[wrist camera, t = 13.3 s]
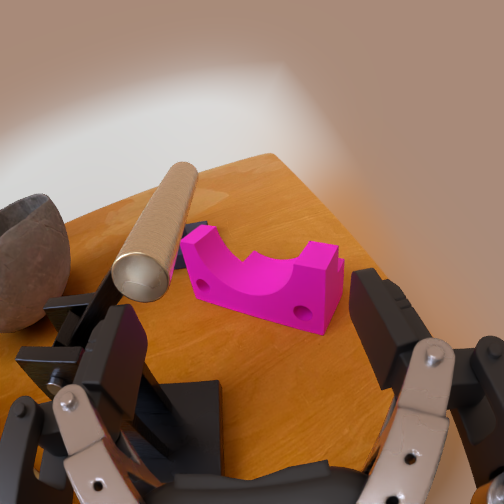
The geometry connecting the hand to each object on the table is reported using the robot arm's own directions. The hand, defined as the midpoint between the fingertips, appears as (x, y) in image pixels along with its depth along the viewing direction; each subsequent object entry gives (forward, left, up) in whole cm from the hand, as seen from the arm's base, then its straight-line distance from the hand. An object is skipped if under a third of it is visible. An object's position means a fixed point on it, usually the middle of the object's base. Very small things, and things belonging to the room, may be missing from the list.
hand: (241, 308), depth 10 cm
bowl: (+33, -20, -14) cm, 41 cm away
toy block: (-1, -17, -14) cm, 22 cm away
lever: (+5, -1, -1) cm, 5 cm away
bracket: (+10, -2, -14) cm, 17 cm away
